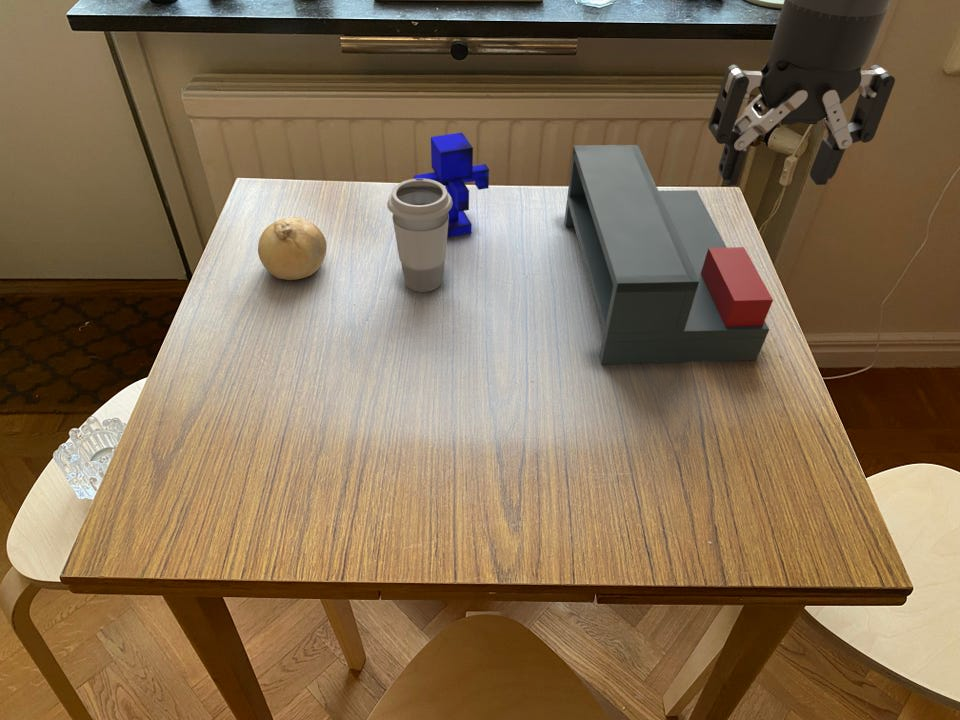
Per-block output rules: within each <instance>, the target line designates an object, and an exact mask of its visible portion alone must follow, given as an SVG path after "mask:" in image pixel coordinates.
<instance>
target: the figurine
mask: <svg viewBox="0 0 960 720" xmlns="http://www.w3.org/2000/svg"><path fill="white" fill-rule="evenodd" d="M469 141H470V140H468V139H467V137H466V136H465V134H464V133H463V132H462V131H461V132H455V133H448V134H442V135H435V136H430V158H431V159H430V160H431V163H430V164H431V168H432V170H433V172H426V173H421V174H414V175H413V179H419V178H421V179H430V180H434V181H437V182H439V183H441V184H442V185H443V186H445V188H446V190H447V192H448V193H449V195H450V196H451V198H452V202H453V205H452V208H451V209H450V211H449V212H448V215H449V219H448V232H447V238H450V237H455V236H461V235H466V234H472V231H473V229H472V227H473V226H472V222H471V220H470V219H469V217H468V215H467V214H466V212H467V211H469V210H470V189H469V188H468V187H467V185H466V184H467V183H472V182H474V185H475V187H476V188H477V190H478V191H479V190H485V189H486V190H487V189H489V185H490V182H489V181H490V168H489V167H488V165H487V164H486V163H483V164H478V165H474V162H473V161H474V147H473V145H472V144H471V143H470V142H469Z"/></svg>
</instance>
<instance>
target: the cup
mask: <svg viewBox="0 0 960 720" xmlns="http://www.w3.org/2000/svg"><path fill="white" fill-rule="evenodd" d="M386 203H387V204H386V205H387V208H388V210H389V212H390V213H392V216H391V217H392V223H393V224H392V225H393V229H394V233H395V234H394V235H395V242H396V247H397V254H398V259H399V261H400V264H401V270H402V276H403V282H404V284H405V286H406V287H407V288H408V289H410V290H411V291H413V292H418V293H426V292H432V291H435V290H436V289H438V288H439V287H441V285H442V283H443V279H444V269H445V267H444V266H445V260H446V255H447V245H448V244H447V243H448V237H447V232H448V219H449V215H448V212H449V211H450V209H451V208H452V205H453V202H452V198H451V196H450V195H449V193H448V192H447V190H446V188H445V186H443V185H442V184H441V183H439V182H437V181H434V180H430V179H421V178H419V179H414V178H411V179H407V180H403V181H401V182H399V183H398V184H396V185H395V186H394V187H393V188H392V190H391V193H390V194H389V196H388V199H387V202H386Z"/></svg>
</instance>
